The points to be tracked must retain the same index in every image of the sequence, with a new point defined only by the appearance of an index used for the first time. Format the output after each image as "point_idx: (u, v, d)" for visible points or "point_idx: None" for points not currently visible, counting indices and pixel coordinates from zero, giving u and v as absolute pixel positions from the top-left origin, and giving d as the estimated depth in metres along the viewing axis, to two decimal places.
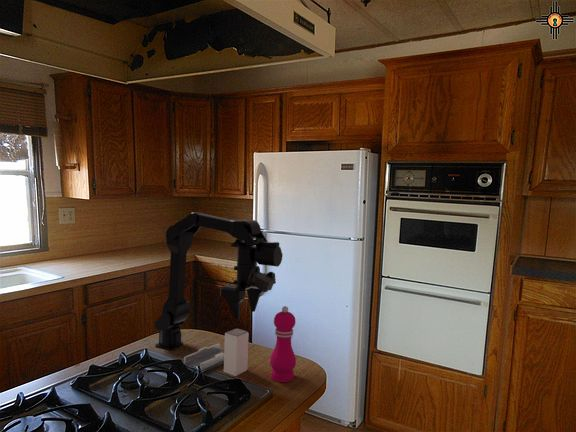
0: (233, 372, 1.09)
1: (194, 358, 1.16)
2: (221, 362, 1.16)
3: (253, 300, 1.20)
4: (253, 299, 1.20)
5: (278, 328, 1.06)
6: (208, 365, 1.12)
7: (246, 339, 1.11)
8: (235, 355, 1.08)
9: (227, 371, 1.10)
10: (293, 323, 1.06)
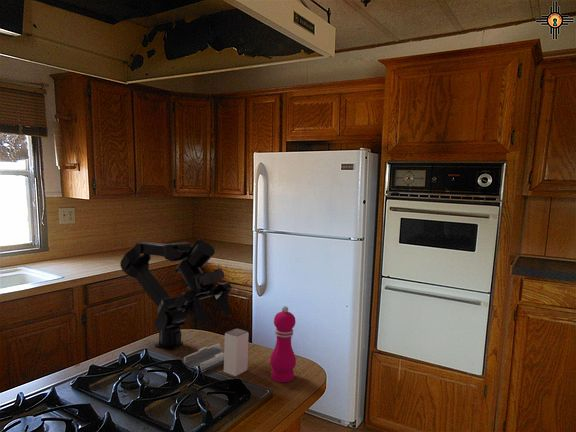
0: (233, 372, 1.09)
1: (194, 358, 1.16)
2: (221, 362, 1.16)
3: (223, 305, 1.20)
4: (223, 305, 1.21)
5: (278, 328, 1.06)
6: (208, 365, 1.12)
7: (246, 339, 1.11)
8: (235, 355, 1.08)
9: (227, 371, 1.10)
10: (293, 323, 1.06)
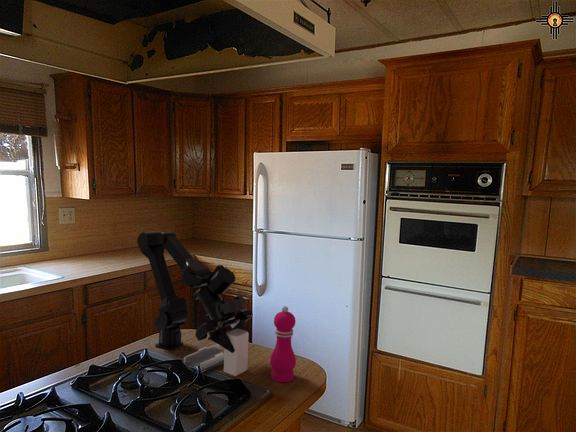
0: (233, 372, 1.09)
1: (194, 358, 1.16)
2: (221, 362, 1.16)
3: None
4: None
5: (278, 328, 1.06)
6: (208, 365, 1.12)
7: (246, 339, 1.11)
8: (235, 355, 1.08)
9: (227, 371, 1.10)
10: (293, 323, 1.06)
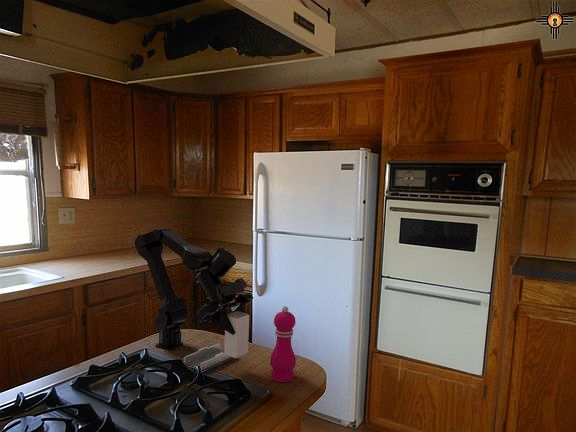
0: (234, 354, 1.09)
1: (194, 358, 1.16)
2: (221, 362, 1.16)
3: None
4: None
5: (278, 328, 1.06)
6: (208, 365, 1.12)
7: (247, 321, 1.11)
8: (236, 337, 1.08)
9: (228, 353, 1.10)
10: (293, 323, 1.06)
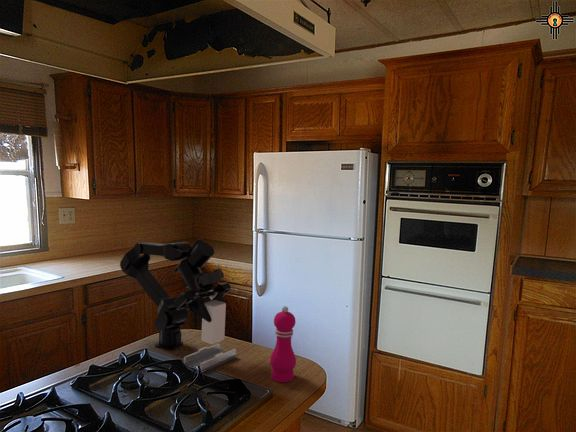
0: (210, 340, 1.14)
1: (194, 358, 1.16)
2: (221, 362, 1.16)
3: None
4: None
5: (278, 328, 1.06)
6: (208, 365, 1.12)
7: (223, 310, 1.16)
8: (212, 324, 1.13)
9: (204, 340, 1.15)
10: (293, 323, 1.06)
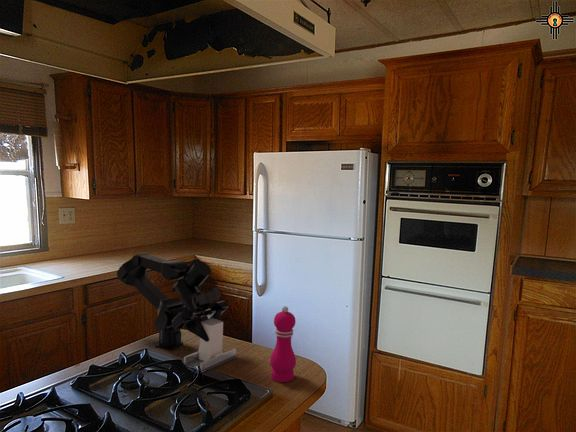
0: (207, 359, 1.15)
1: (194, 358, 1.16)
2: (221, 362, 1.16)
3: None
4: None
5: (278, 328, 1.06)
6: (208, 365, 1.12)
7: (221, 328, 1.17)
8: (210, 343, 1.14)
9: (202, 358, 1.16)
10: (293, 323, 1.06)
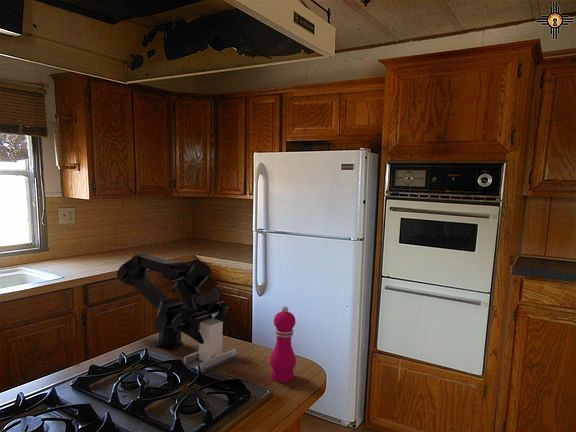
0: (207, 359, 1.15)
1: (194, 358, 1.16)
2: (221, 362, 1.16)
3: None
4: None
5: (278, 328, 1.06)
6: (208, 365, 1.12)
7: (220, 328, 1.17)
8: (209, 343, 1.14)
9: (202, 358, 1.16)
10: (293, 323, 1.06)
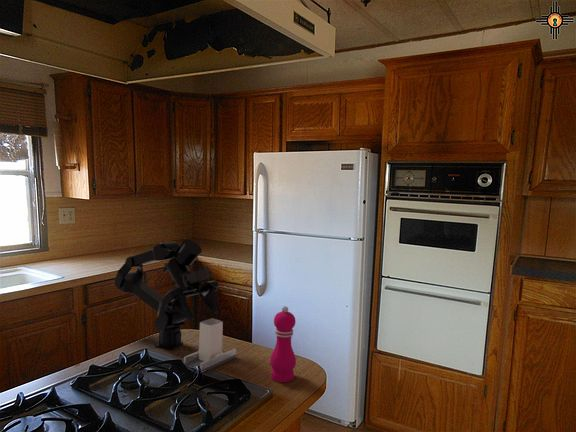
0: (207, 359, 1.15)
1: (194, 358, 1.16)
2: (221, 362, 1.16)
3: (210, 303, 1.24)
4: (210, 303, 1.24)
5: (278, 328, 1.06)
6: (208, 365, 1.12)
7: (220, 328, 1.17)
8: (209, 343, 1.14)
9: (202, 358, 1.16)
10: (293, 323, 1.06)
